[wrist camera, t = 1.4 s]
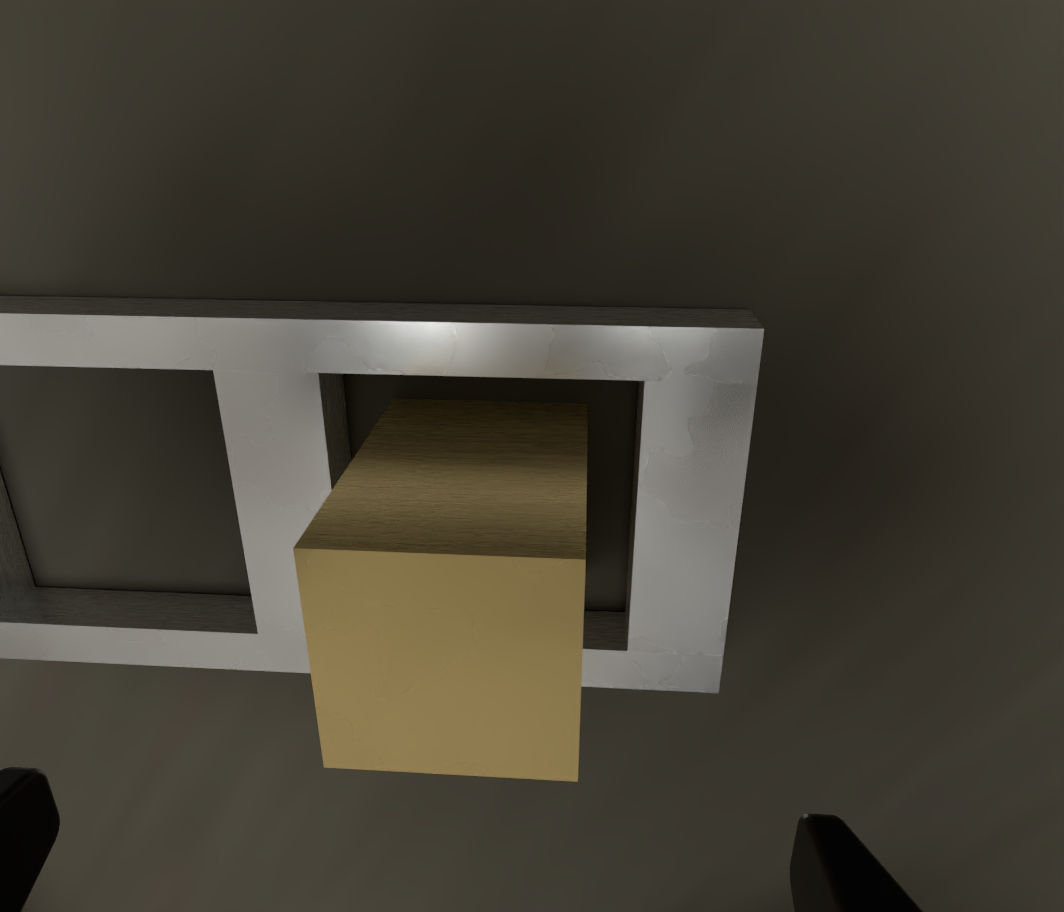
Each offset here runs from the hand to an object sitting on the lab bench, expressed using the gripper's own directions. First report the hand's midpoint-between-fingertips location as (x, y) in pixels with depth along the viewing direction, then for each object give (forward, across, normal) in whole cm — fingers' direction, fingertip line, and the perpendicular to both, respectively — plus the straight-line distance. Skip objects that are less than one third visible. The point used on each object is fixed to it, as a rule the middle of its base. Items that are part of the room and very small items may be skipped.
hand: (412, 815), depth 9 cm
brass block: (+8, 0, 0) cm, 8 cm away
